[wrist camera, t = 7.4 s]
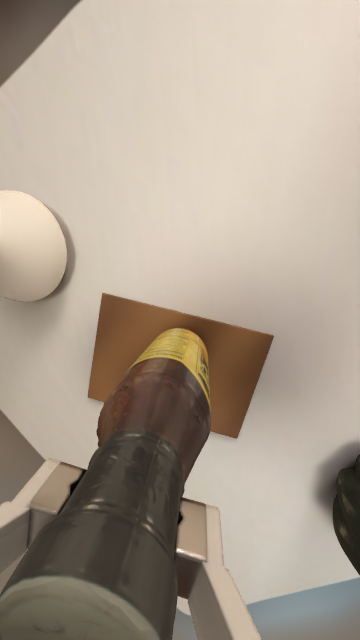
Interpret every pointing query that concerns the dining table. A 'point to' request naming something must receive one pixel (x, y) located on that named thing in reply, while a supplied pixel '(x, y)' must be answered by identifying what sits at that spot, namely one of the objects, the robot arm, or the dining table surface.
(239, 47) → the dining table surface
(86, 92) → the dining table surface
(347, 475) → the squash
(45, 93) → the dining table surface
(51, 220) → the flower in vase
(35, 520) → the robot arm
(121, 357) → the cork mat
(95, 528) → the sauce bottle
